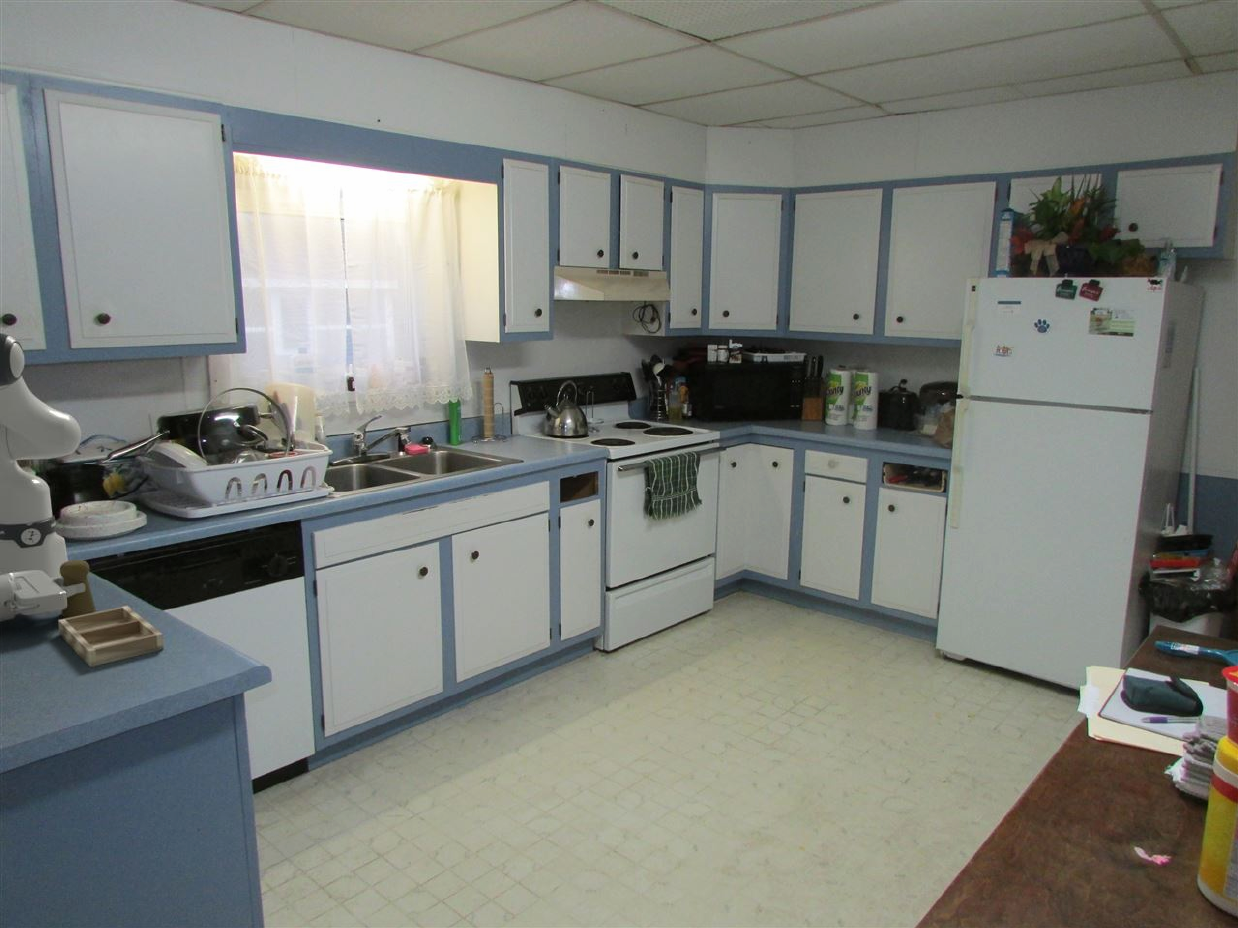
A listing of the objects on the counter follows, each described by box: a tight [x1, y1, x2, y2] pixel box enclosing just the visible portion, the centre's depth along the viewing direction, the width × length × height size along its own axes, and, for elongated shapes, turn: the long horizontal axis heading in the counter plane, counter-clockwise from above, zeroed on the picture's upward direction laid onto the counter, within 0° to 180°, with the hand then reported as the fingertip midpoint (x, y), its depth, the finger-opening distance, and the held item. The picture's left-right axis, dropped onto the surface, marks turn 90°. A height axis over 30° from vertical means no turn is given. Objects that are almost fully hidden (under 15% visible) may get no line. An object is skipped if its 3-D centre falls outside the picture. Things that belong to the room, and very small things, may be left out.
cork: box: [60, 559, 97, 618], centre depth 175 cm, size 6×6×11 cm
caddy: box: [57, 605, 164, 668], centre depth 161 cm, size 21×12×3 cm, turn 46°
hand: (80, 583), depth 176 cm, fingers closed on cork, 4 cm apart
